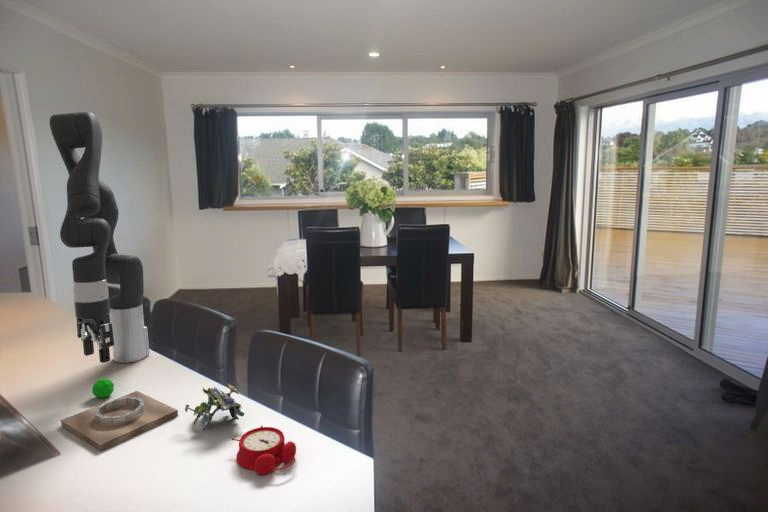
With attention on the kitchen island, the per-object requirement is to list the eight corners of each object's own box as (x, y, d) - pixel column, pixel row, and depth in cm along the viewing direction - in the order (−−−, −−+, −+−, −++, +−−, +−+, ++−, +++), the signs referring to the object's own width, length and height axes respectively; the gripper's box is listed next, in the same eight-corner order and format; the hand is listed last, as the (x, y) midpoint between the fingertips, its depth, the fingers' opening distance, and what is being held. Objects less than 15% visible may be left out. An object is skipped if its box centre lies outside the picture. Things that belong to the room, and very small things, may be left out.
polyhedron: (115, 398, 123) (113, 381, 122) (93, 402, 121) (91, 385, 120) (114, 390, 127) (112, 374, 127) (93, 395, 125) (91, 378, 124)
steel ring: (130, 400, 119) (129, 393, 118) (152, 412, 113) (152, 404, 113) (87, 417, 110) (86, 409, 110) (109, 430, 105) (108, 422, 105)
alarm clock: (266, 420, 106) (305, 430, 96) (270, 447, 107) (310, 460, 96) (223, 438, 99) (261, 452, 88) (228, 467, 99) (266, 484, 89)
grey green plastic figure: (234, 438, 115) (257, 407, 111) (194, 452, 106) (217, 418, 102) (213, 402, 120) (235, 370, 116) (174, 411, 111) (195, 377, 107)
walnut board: (137, 396, 124) (136, 390, 124) (178, 415, 115) (177, 409, 114) (61, 426, 109) (60, 420, 109) (100, 451, 100) (100, 444, 100)
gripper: (121, 298, 118) (125, 360, 121) (94, 290, 126) (98, 348, 129) (89, 304, 112) (94, 369, 115) (62, 296, 120) (68, 356, 123)
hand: (96, 358), depth 122 cm, fingers open, 8 cm apart
